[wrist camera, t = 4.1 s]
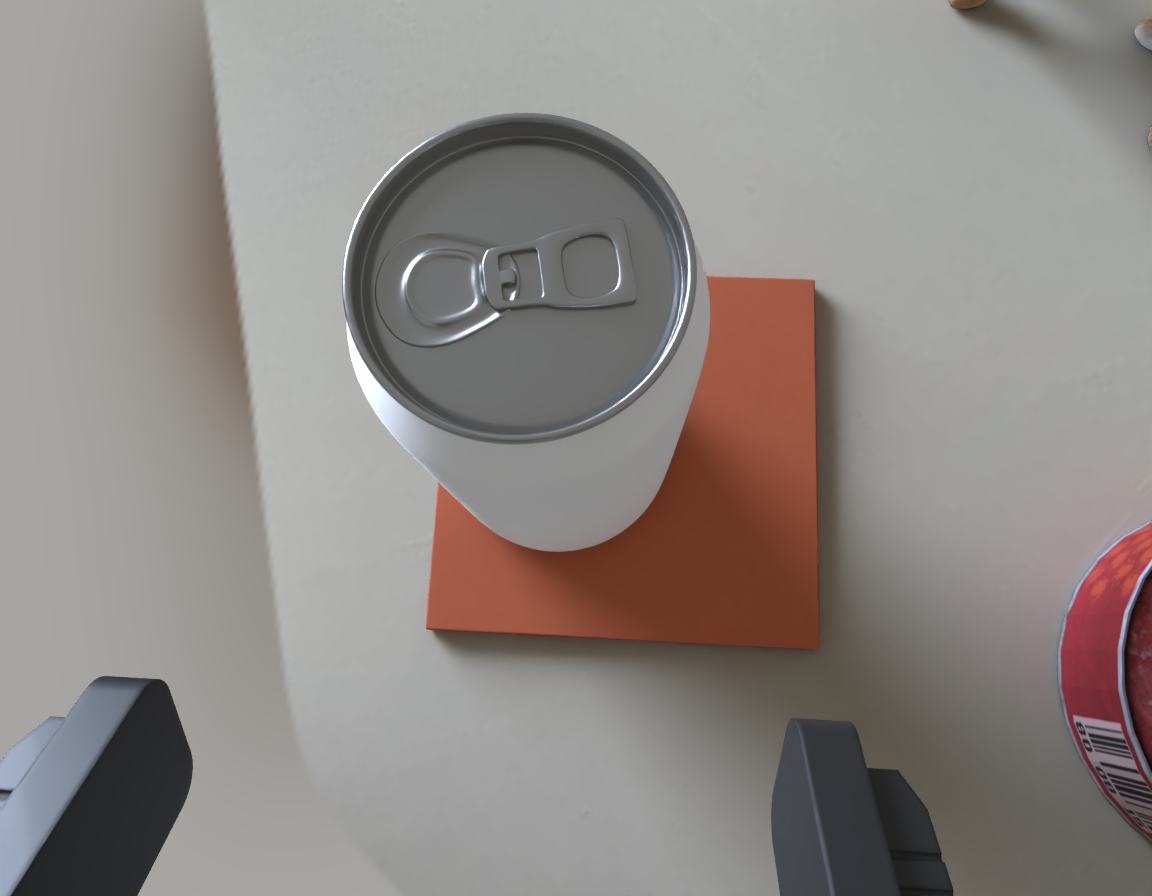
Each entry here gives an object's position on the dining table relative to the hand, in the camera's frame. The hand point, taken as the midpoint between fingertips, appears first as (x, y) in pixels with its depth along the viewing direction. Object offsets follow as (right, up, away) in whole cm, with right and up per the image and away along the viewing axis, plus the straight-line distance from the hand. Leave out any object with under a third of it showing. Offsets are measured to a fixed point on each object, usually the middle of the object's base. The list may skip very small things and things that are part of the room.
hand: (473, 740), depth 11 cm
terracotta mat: (+3, +4, +14) cm, 15 cm away
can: (+1, +4, +14) cm, 15 cm away
